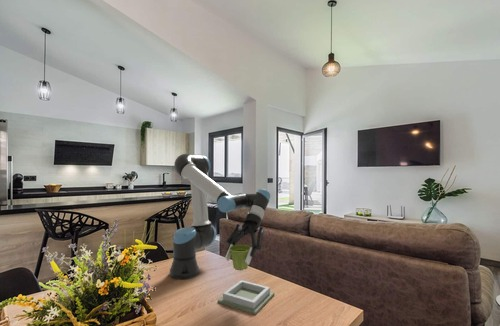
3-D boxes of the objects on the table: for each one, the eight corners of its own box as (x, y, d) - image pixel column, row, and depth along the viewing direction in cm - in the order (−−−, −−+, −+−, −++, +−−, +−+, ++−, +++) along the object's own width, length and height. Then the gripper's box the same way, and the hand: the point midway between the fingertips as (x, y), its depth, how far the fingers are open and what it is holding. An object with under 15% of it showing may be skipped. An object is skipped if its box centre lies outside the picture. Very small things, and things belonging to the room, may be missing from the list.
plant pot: (249, 273, 106) (248, 251, 106) (227, 271, 108) (226, 250, 108) (253, 264, 115) (252, 245, 115) (232, 263, 117) (232, 244, 117)
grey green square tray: (217, 302, 108) (217, 294, 108) (240, 285, 124) (240, 278, 124) (255, 314, 99) (255, 305, 99) (274, 294, 115) (274, 286, 115)
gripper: (278, 223, 120) (262, 270, 105) (238, 219, 131) (219, 261, 117) (272, 214, 115) (256, 261, 101) (232, 210, 126) (212, 252, 112)
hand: (236, 261), depth 109 cm, fingers closed on plant pot, 9 cm apart
